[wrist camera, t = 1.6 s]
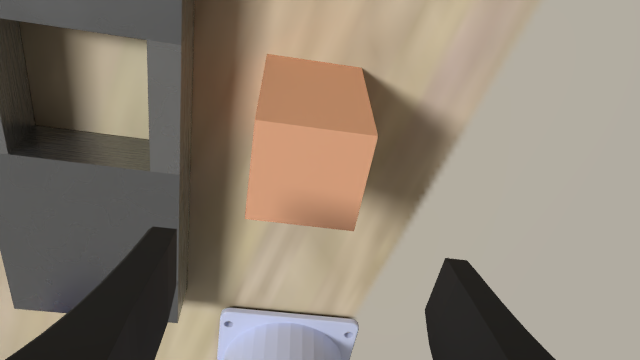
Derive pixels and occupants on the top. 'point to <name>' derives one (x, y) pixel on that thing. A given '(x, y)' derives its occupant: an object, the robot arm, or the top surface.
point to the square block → (310, 144)
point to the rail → (93, 159)
